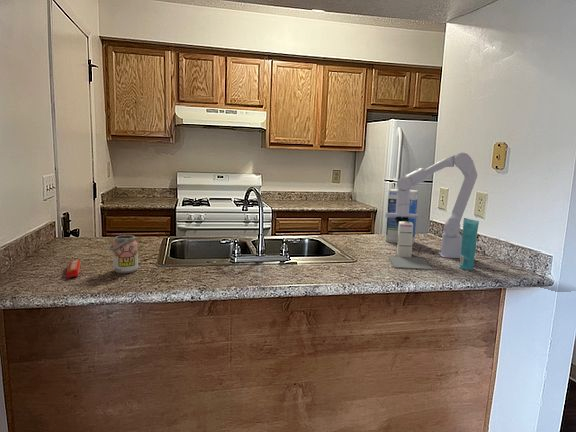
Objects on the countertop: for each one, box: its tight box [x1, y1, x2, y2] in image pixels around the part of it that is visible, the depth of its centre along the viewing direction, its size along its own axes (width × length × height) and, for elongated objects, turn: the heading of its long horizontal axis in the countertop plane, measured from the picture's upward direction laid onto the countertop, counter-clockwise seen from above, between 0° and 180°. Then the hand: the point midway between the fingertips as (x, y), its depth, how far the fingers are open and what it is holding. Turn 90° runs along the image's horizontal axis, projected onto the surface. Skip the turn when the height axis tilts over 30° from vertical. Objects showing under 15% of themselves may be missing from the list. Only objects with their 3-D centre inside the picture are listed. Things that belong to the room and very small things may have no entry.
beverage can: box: [108, 234, 139, 274], centre depth 140 cm, size 9×8×12 cm
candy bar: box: [66, 259, 82, 279], centre depth 138 cm, size 16×4×3 cm, turn 24°
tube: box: [459, 217, 480, 271], centre depth 154 cm, size 7×5×19 cm, turn 26°
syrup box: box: [396, 221, 413, 257], centre depth 171 cm, size 6×6×14 cm
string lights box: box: [385, 188, 419, 245], centre depth 198 cm, size 13×8×26 cm, turn 66°
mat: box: [388, 255, 433, 271], centre depth 161 cm, size 14×16×1 cm
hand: (400, 233), depth 182 cm, fingers closed
